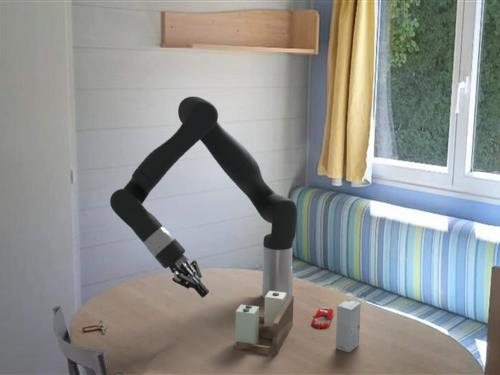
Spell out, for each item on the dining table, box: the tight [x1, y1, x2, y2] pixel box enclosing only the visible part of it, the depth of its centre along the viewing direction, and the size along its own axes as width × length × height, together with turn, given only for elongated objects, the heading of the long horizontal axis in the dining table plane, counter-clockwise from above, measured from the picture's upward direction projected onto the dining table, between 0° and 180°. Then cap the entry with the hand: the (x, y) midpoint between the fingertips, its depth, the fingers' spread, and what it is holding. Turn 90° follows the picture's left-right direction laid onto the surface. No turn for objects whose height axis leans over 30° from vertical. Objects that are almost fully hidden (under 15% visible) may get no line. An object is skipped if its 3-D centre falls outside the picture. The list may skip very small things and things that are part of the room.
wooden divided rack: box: [235, 295, 295, 356], centre depth 173 cm, size 15×19×10 cm
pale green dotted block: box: [234, 304, 260, 348], centre depth 167 cm, size 5×5×10 cm
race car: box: [310, 306, 335, 330], centre depth 184 cm, size 13×5×4 cm, turn 162°
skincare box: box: [335, 299, 362, 353], centre depth 170 cm, size 6×4×12 cm
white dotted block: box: [263, 291, 287, 327], centre depth 177 cm, size 5×5×10 cm
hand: (206, 294), depth 173 cm, fingers closed
